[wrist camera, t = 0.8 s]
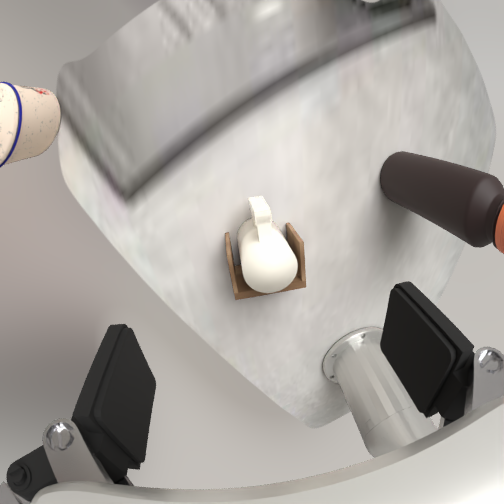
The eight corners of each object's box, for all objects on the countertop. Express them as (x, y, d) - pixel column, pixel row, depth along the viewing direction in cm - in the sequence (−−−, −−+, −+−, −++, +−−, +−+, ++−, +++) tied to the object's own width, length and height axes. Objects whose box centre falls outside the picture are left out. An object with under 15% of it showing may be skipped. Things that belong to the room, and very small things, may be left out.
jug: (282, 253, 34) (299, 287, 26) (240, 260, 34) (246, 297, 26) (275, 189, 30) (293, 208, 23) (230, 196, 30) (233, 217, 23)
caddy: (292, 262, 34) (306, 287, 29) (232, 272, 34) (235, 299, 29) (289, 222, 32) (303, 242, 27) (225, 233, 32) (226, 255, 26)
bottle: (411, 207, 33) (524, 277, 15) (372, 195, 32) (496, 268, 14) (424, 161, 31) (549, 205, 12) (386, 143, 29) (525, 178, 11)
